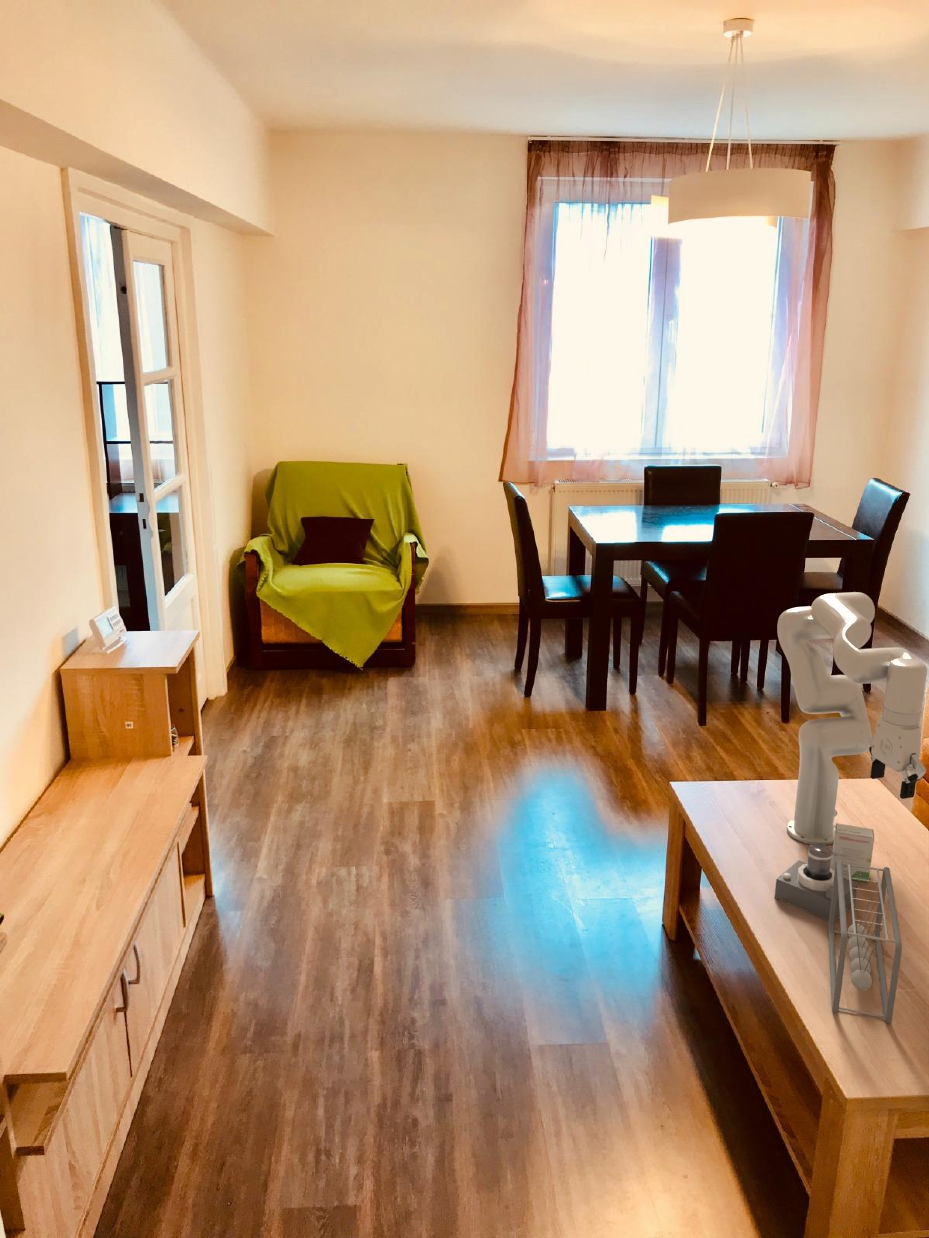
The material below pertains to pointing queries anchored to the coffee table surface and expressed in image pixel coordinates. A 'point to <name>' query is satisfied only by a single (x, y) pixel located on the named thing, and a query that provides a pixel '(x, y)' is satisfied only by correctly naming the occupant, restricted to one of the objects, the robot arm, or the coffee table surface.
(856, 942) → the newton's cradle
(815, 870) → the lens
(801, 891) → the camera body
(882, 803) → the coffee table surface
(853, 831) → the ink box
